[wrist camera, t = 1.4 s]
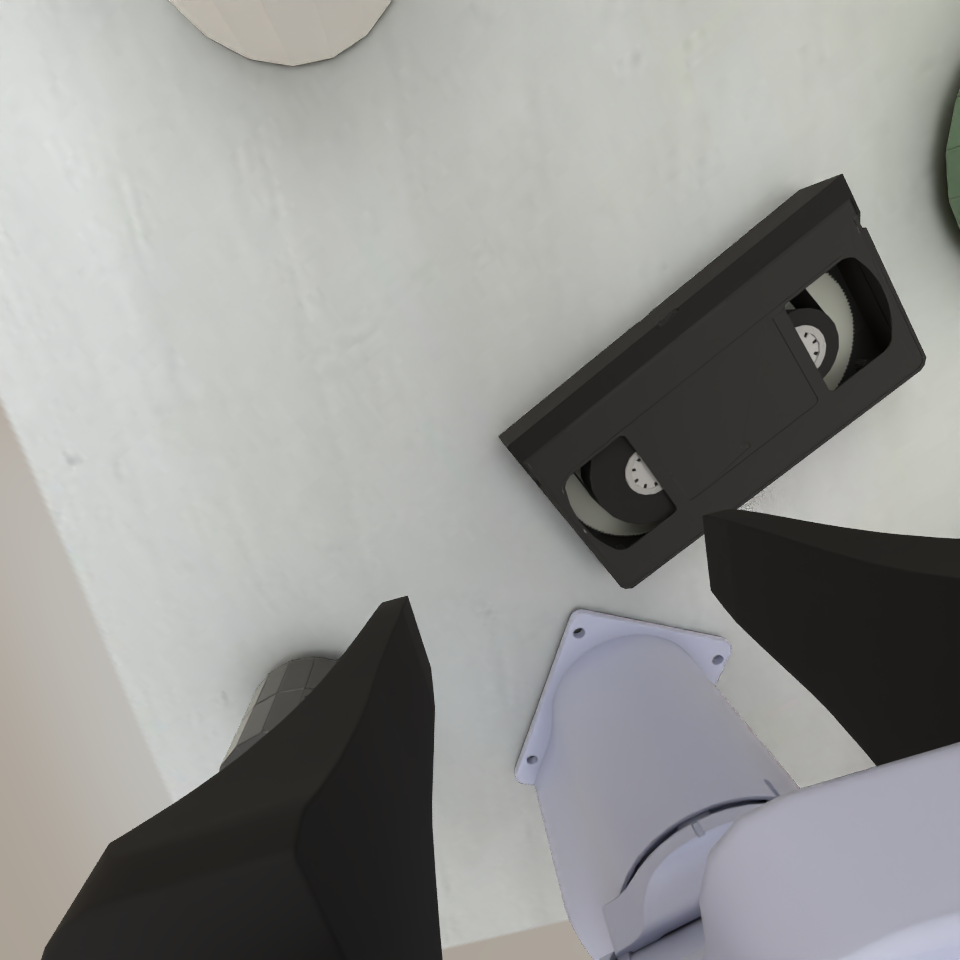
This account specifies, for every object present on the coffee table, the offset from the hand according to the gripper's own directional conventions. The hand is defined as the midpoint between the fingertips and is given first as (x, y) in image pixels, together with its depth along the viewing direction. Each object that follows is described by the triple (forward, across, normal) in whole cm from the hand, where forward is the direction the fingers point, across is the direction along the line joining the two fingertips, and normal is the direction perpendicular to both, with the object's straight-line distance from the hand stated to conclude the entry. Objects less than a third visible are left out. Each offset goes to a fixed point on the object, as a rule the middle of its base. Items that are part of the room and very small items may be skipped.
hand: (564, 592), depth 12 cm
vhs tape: (+9, -8, -1) cm, 12 cm away
